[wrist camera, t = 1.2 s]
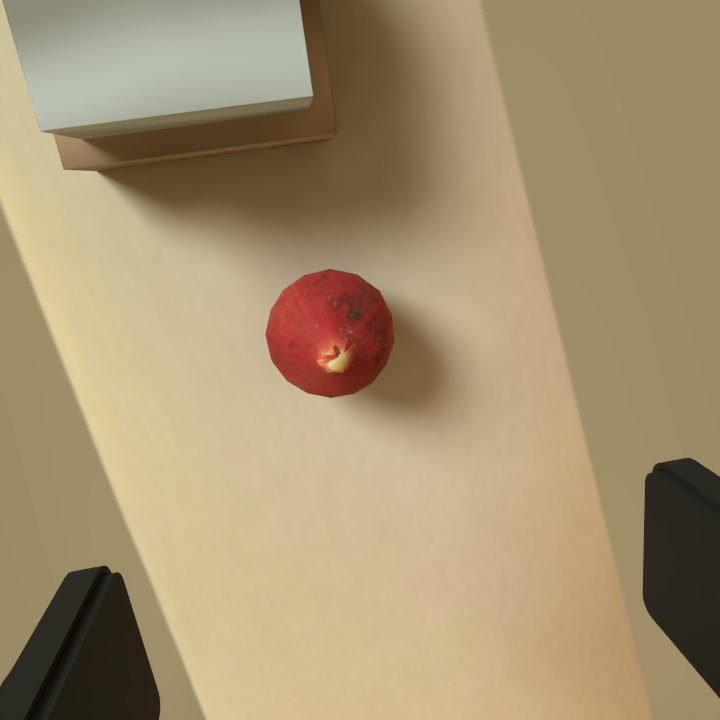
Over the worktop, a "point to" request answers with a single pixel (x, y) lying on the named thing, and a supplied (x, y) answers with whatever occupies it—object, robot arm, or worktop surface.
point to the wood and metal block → (172, 77)
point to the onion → (330, 333)
